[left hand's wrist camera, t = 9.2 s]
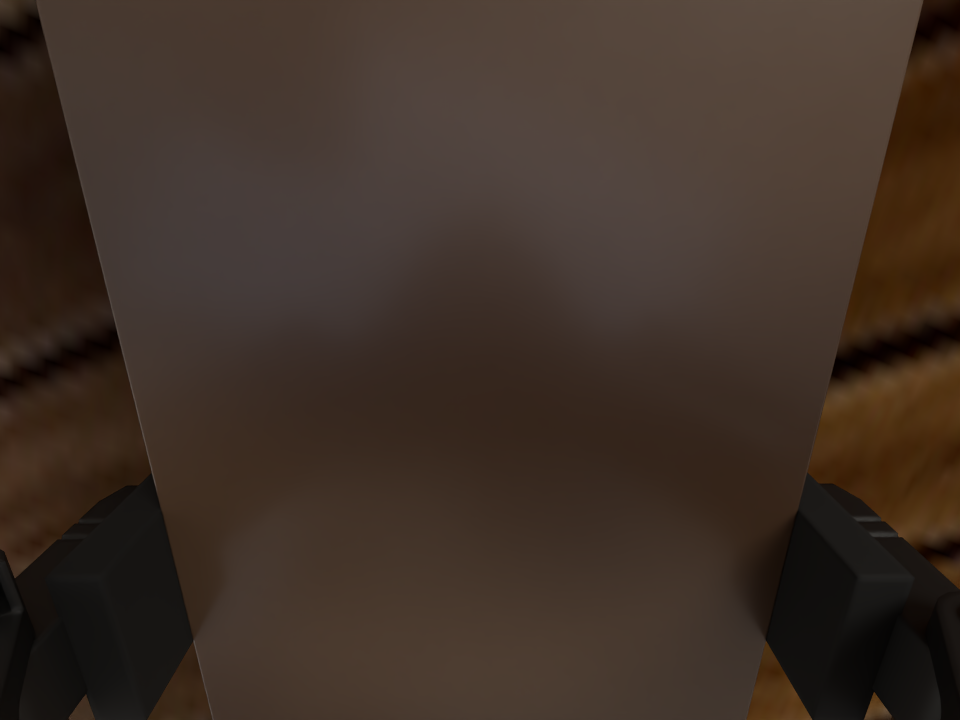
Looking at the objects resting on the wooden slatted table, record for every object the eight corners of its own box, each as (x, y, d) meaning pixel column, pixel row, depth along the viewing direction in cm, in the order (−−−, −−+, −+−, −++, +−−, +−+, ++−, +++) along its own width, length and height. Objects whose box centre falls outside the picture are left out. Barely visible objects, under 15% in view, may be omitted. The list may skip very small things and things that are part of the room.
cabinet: (262, -157, 13) (-155, -755, 4) (696, -157, 13) (1112, -753, 4) (335, 500, 19) (223, 768, 11) (623, 499, 19) (735, 767, 11)
